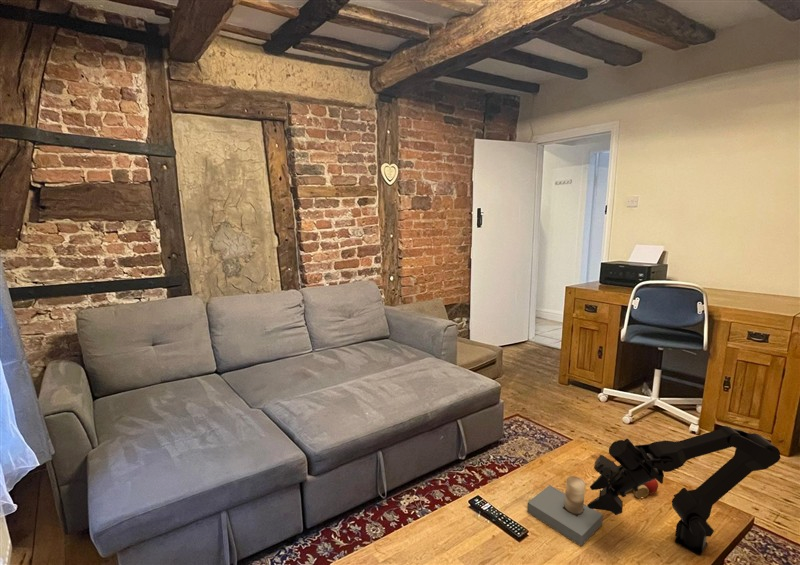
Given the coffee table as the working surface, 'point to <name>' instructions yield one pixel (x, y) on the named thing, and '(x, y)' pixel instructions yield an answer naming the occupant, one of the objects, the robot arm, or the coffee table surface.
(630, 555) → the coffee table surface
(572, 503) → the peg
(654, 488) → the kendama
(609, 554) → the coffee table surface
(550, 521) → the board
